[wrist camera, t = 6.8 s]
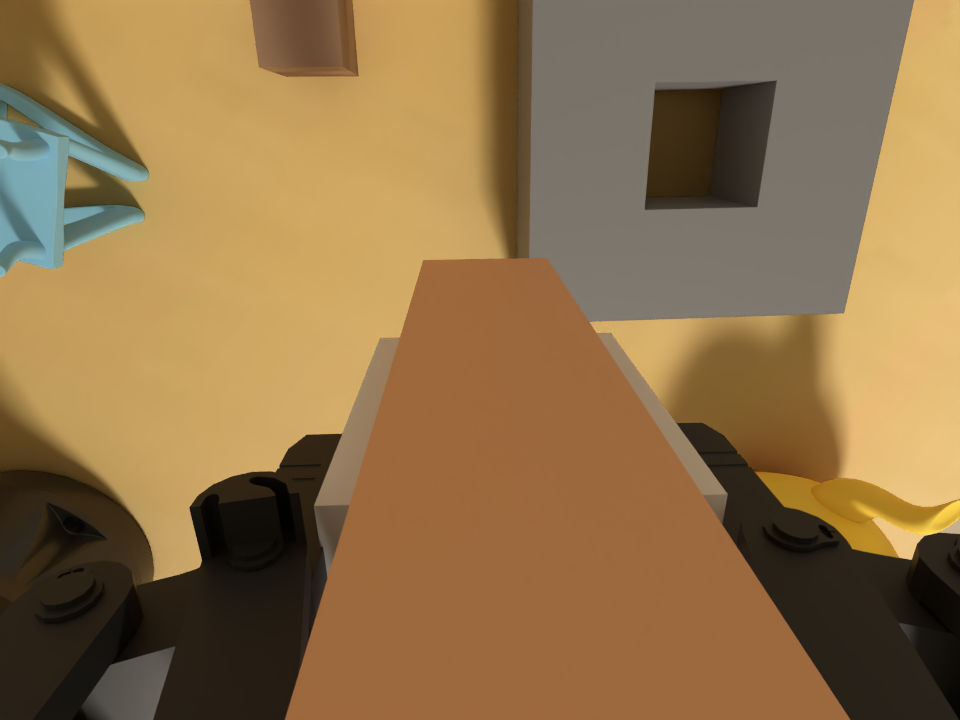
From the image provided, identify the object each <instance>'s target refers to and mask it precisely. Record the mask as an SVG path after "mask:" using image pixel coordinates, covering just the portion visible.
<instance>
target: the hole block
mask: <svg viewBox="0 0 960 720" xmlns="http://www.w3.org/2000/svg"><path fill="white" fill-rule="evenodd" d="M913 3H914V0H518V126H517V258H547V259H548V260H549V262H550V263H551V265H552V266H553V268H554V269H555V271H556V272H557V274H558V275H559V277H560V278H561V280H562V281H563V283H564V284H565V286H566V287H567V289H568V291H569V292H570V294H571V295H572V297H573V298H574V300H575V301H576V303H577V304H578V306H579V307H580V309H581V310H582V312H583V313H584V315H585V316H586V318H587V319H588V321H589V322H592V321H623V320H654V319H684V318H715V317H745V316H776V315H806V314H837V313H844V311H845V307H846V302H847V298H848V293H849V289H850V284H851V280H852V275H853V271H854V266H855V262H856V257H857V253H858V248H859V244H860V240H861V235H862V231H863V226H864V222H865V217H866V213H867V208H868V204H869V199H870V195H871V190H872V186H873V182H874V177H875V173H876V168H877V164H878V159H879V155H880V150H881V146H882V141H883V137H884V132H885V128H886V123H887V119H888V115H889V110H890V106H891V101H892V97H893V92H894V88H895V83H896V79H897V74H898V70H899V65H900V61H901V56H902V52H903V48H904V43H905V39H906V34H907V30H908V25H909V21H910V16H911V12H912V7H913ZM714 89H722V97H721V105H720V113H719V121H718V129H717V137H716V145H715V153H714V161H713V169H712V177H711V185H710V193H709V196H678V197H646V187H647V176H648V164H649V152H650V141H651V129H652V117H653V105H654V94H655V90H714Z"/></svg>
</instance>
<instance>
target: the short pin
mask: <svg viewBox="0 0 960 720" xmlns="http://www.w3.org/2000/svg"><path fill="white" fill-rule="evenodd" d="M250 4H251V11H252V19H253V26H254V33H255V41H256V48H257V55H258V63H259V67H260V68H263V69H266V70H268V71H271V72H274V73H277V74H280V75H283V76H286V77H301V76H358V66H357V53H356V40H355V28H354V15H353V3H352V0H250Z"/></svg>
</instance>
